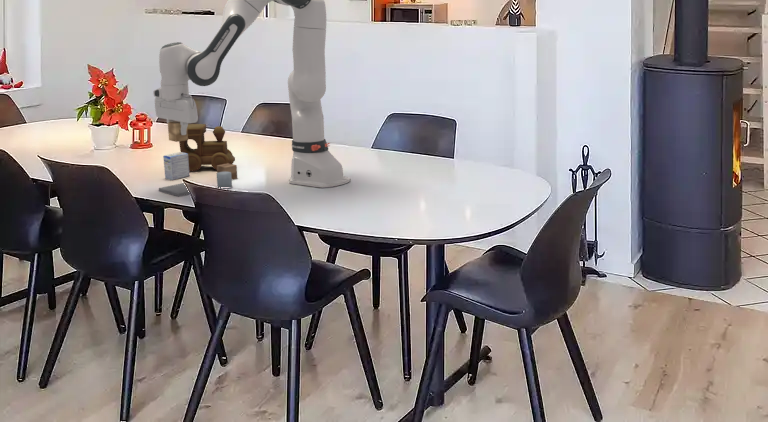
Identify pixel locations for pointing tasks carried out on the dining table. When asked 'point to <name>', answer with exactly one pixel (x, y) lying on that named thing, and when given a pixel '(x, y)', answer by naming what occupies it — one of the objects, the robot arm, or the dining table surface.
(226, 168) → the walnut cube
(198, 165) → the wooden toy train
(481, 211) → the dining table surface
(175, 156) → the medicine box
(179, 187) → the charcoal mat
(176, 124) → the oak block
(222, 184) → the blue-grey cube
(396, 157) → the dining table surface
